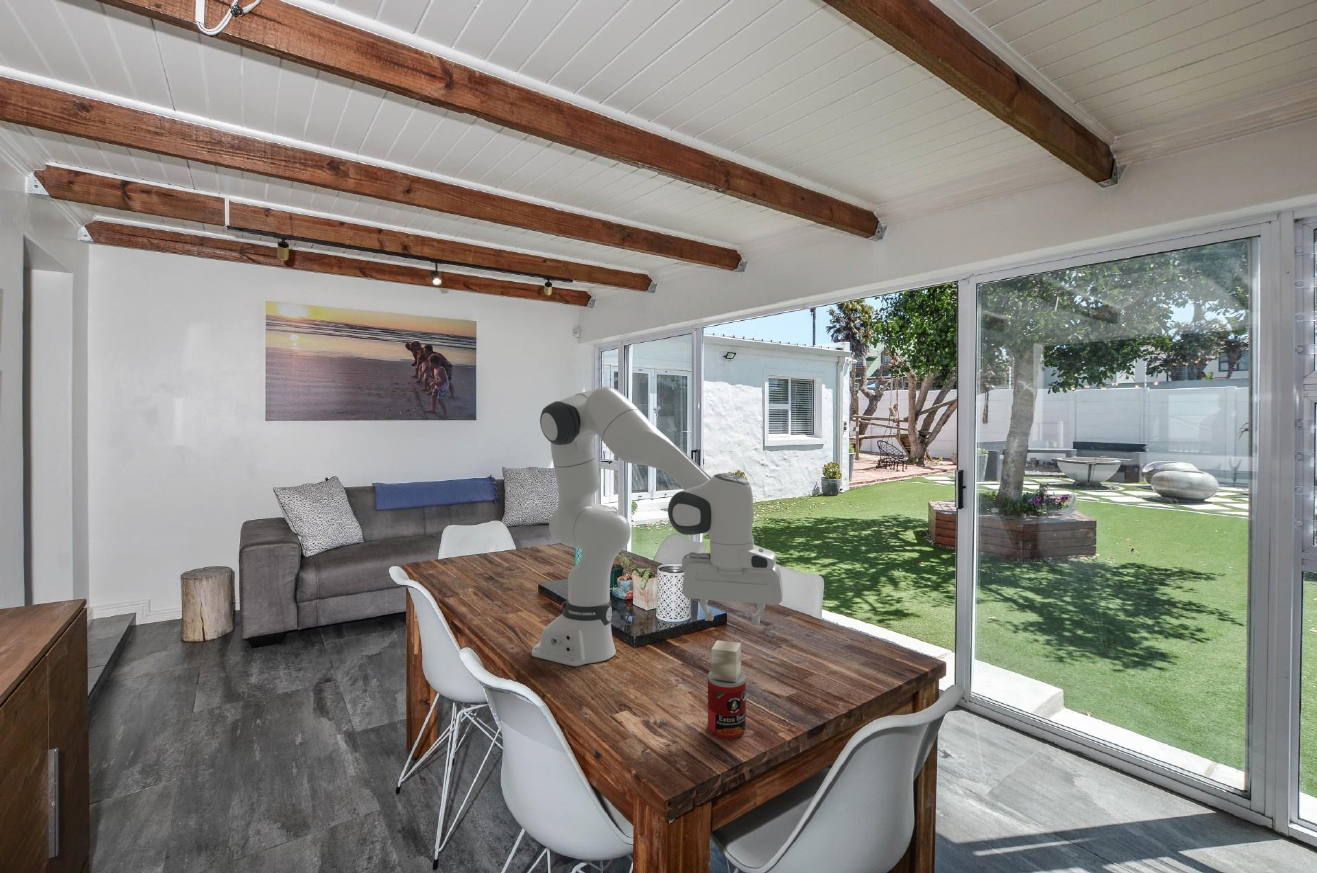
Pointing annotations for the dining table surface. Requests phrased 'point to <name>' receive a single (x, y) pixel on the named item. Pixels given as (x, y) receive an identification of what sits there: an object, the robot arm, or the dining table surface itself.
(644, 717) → the dining table surface
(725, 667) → the birch block
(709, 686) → the canned food
